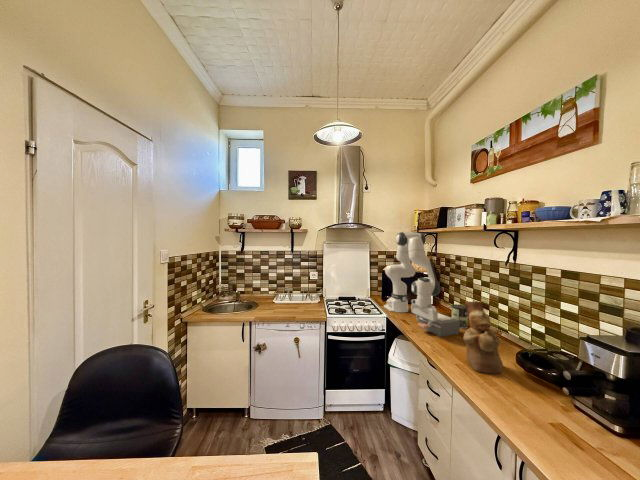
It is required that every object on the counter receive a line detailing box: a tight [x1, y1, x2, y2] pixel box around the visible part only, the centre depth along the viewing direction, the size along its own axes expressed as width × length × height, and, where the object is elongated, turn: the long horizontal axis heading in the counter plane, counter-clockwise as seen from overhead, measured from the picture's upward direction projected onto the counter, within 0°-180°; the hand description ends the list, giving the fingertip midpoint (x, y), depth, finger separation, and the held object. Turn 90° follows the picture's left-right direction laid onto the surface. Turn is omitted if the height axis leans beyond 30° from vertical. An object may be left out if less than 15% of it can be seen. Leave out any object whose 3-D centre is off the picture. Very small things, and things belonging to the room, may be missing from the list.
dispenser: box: [418, 311, 461, 338], centre depth 168 cm, size 19×17×9 cm
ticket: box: [417, 322, 433, 329], centre depth 167 cm, size 6×20×1 cm, turn 110°
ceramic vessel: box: [463, 301, 504, 374], centre depth 124 cm, size 16×22×30 cm
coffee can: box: [450, 303, 469, 330], centre depth 176 cm, size 10×10×14 cm
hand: (423, 323), depth 163 cm, fingers open, 8 cm apart
